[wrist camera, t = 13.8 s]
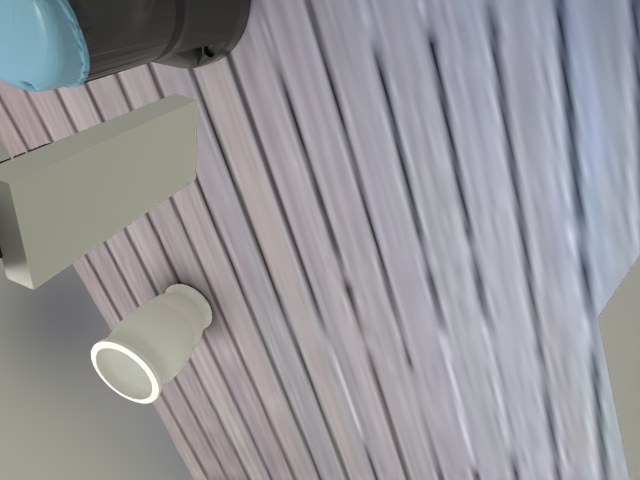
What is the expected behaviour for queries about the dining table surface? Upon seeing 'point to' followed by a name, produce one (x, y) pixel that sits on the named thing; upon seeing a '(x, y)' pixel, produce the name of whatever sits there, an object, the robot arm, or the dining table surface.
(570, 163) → the dining table surface
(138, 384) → the jar
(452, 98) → the dining table surface
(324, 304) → the dining table surface
